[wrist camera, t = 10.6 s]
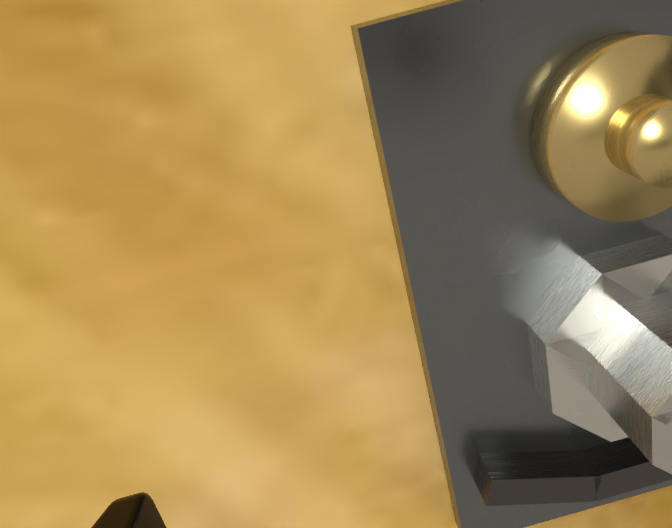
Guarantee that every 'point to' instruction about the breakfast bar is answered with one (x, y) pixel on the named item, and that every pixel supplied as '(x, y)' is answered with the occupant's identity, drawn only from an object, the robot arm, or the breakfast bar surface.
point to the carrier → (517, 219)
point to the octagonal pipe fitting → (611, 346)
